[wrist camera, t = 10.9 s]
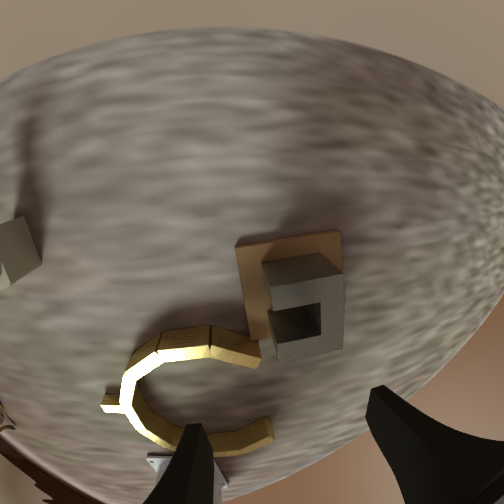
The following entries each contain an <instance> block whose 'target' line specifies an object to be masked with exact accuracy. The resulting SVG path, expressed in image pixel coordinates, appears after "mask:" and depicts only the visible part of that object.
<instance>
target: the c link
mask: <svg viewBox="0 0 504 504" xmlns="http://www.w3.org/2000/svg"><path fill="white" fill-rule="evenodd" d="M261 269H262V277H263V283H264V286H265V289H266V292H267V294H268V297H269V300H270V303H271V306H272V309H273V310H270V311H267V315H268V322H269V329H270V332H271V336H272V339H273V343H274V346H275V350H276V353H277V356H278V360H279V362H285V361H290V360H294V359H299V358H304V357H308V356H313V355H317V354H321V353H326V352H330V351H334V350H338V349H342V348H343V332H344V273H343V272H342V271H341V270H339V269H338V268H337V267H336V266H335V265H334V264H333V263H332V262H331V261H330V260H328V259H327V258H326V257H325V256H324V255H323V254H322V253H321V252H318V253H312V254H306V255H300V256H294V257H288V258H282V259H276V260H270V261H264V262H261Z"/></svg>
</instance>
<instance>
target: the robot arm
mask: <svg viewBox="0 0 504 504" xmlns="http://www.w3.org/2000/svg"><path fill="white" fill-rule="evenodd" d="M365 418H366V420H367V423H368V426H369V428H370V431H371V433H372V435H373V437H374V439H375V441H376V442H377V444H378V446H379V448H380V450H381V451H382V453H383V455H384V457H385V458H386V460H387V462H388V463H389V465H390V467H391V469H392V471H393V473H394V475H395V477H396V480H397V482H398V485H399V487H400V490H401V493H402V496H403V499H404V502H405V504H504V441H496V440H490V439H484V438H479V437H476V436H473V435H469V434H466V433H463V432H460V431H457V430H454V429H452V428H450V427H448V426H445V425H444V424H442V423H440V422H438V421H436V420H434V419H433V418H431V417H429V416H427V415H426V414H424V413H422V412H421V411H419V410H418V409H416V408H415V407H413V406H412V405H410V404H409V403H408V402H406V401H405V400H403V399H402V398H401V397H399V396H398V395H397V394H395V393H394V392H393V391H391V390H390V389H389V388H387V387H386V386H385V385H381V386H378V387H375V388H372V389H371V392H370V397H369V402H368V407H367V411H366V416H365ZM146 460H147V461H148V462H149V463H150V465H151V466H152V467H153V468H154V469H155V470H156V472H157V480H156V486H155V488H154V489H153V491H152V492H151V494H150V495H149V496H148V498H147V499H146V500H145V501H144V503H143V504H222V496H221V488H228V483H227V482H226V480H225V478H224V476H223V475H222V473H221V471H220V469H219V467H218V466H217V464H216V462H215V460H214V457H213V448H212V446H211V444H210V442H209V439H208V437H207V435H206V433H205V431H204V428H203V426H202V424H201V423H199V424H187V425H186V426H185V428H184V431H183V433H182V436H181V438H180V441H179V443H178V446H177V448H176V450H175V452H174V454H173V456H146Z"/></svg>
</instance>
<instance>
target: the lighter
mask: <svg viewBox="0 0 504 504" xmlns="http://www.w3.org/2000/svg"><path fill="white" fill-rule="evenodd" d="M41 263H42V262H41V260H40V257H39V255H38V252H37V250H36V247H35V244H34V242H33V239H32V236H31V233H30V231H29V228H28V225H27V222H26V219H25V217H24V216H22V217H19V218H16V219H13V220H10V221H7V222H5V223H2V224H0V291H1V290H3V289H5V288H7V287H9V286H11V285H12V284H14V283H15V282H17V281H18V280H19V279H21V278H22V277H24V276H25V275H27V274H28V273H30V272H31V271H33V270H34V269H36V268H37V267H39V266H41Z"/></svg>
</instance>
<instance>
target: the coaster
mask: <svg viewBox="0 0 504 504" xmlns="http://www.w3.org/2000/svg"><path fill="white" fill-rule="evenodd" d="M235 250H236V256H237V262H238V268H239V274H240V280H241V286H242V292H243V298H244V304H245V310H246V315H247V321H248V327H249V332H250V338H251V341H253V340H259V339H265V338H270V337H272V336H271V332H270V329H269V322H268V315H267V311H270V310H273V309H272V306H271V303H270V300H269V297H268V294H267V292H266V289H265V286H264V283H263V277H262V269H261V262H264V261H270V260H276V259H282V258H288V257H294V256H300V255H306V254H312V253H318V252H321V253H322V254H323V255H324V256H325V257H326V258H327V259H328V260H330V261H331V262H332V263H333V264H334V265H335V266H336V267H337V268H338V269H339V270H341V271H342V243H341V231H339V230H332V231H325V232H319V233H312V234H306V235H300V236H293V237H287V238H281V239H274V240H268V241H262V242H256V243H250V244H243V245H237V246H235ZM342 272H343V271H342Z"/></svg>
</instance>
